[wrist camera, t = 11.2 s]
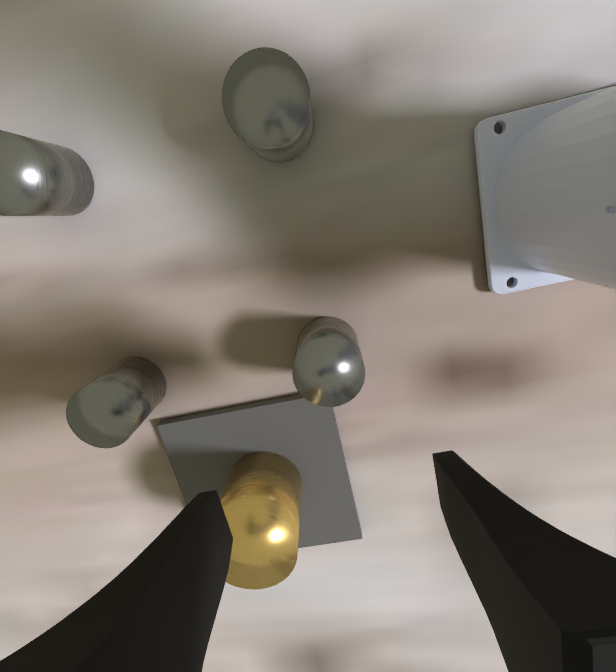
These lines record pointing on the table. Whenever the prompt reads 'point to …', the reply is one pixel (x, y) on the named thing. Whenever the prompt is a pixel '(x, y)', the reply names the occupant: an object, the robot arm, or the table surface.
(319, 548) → the table surface
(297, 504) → the brass round stock
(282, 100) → the spacer posts
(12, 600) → the table surface
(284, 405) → the mat
